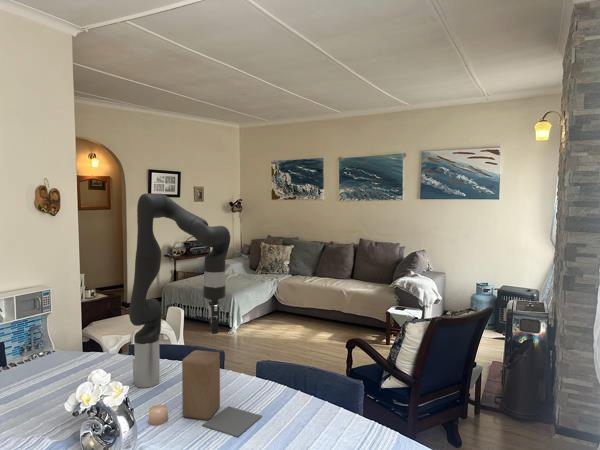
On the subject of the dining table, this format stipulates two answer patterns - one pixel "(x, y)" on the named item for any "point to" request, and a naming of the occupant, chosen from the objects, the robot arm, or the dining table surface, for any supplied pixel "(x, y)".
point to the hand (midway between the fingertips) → (213, 329)
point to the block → (201, 384)
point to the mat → (232, 421)
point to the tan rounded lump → (158, 414)
